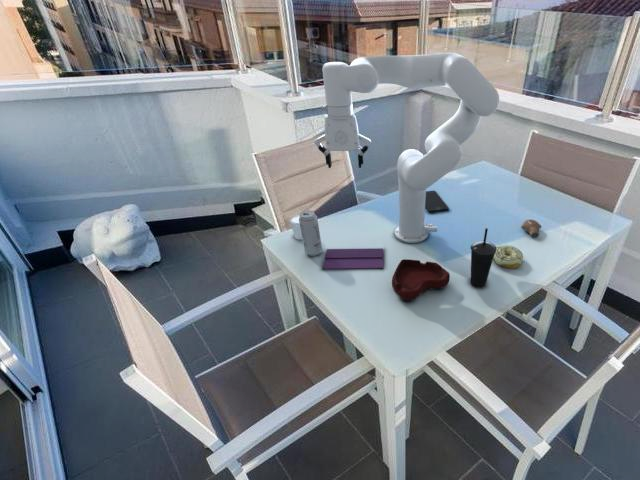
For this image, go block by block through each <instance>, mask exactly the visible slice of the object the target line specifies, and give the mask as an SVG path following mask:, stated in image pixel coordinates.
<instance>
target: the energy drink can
mask: <svg viewBox="0 0 640 480" xmlns="http://www.w3.org/2000/svg"><path fill="white" fill-rule="evenodd" d="M299 215H300V217H299V224H300V229H301V234H302V239H303V240H302V245H303V250H304V253H305V254H306V255H308V256H310V257H315V256H316V257H317V256H318V255H320V254H321V252H322V250H323V246H322V238H321V232H320V226H319V220H318V216H317V215H316V213H315V211H313V210H304V211H302V212H300V213H299Z"/></svg>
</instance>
